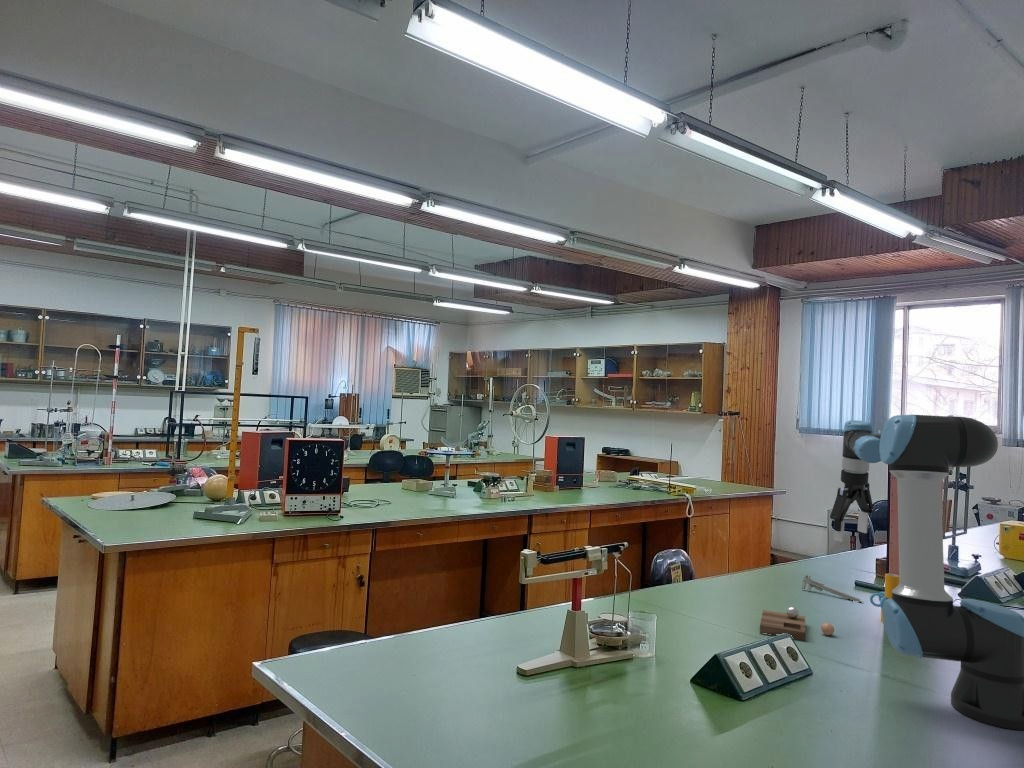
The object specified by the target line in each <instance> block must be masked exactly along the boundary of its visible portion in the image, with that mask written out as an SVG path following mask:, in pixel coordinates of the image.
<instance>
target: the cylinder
mask: <svg viewBox="0 0 1024 768" xmlns="http://www.w3.org/2000/svg"><path fill="white" fill-rule="evenodd" d="M898 585H899V574H895V573H889V572H888V573H885V574H884V591H880V592H879V593H877V592H874V593H871V595H870V596H869V601H870V603H871V605H873V607H877V608H880V622H881V623H883V624H884V622H883V614H882V608H883V602H884V601H885V600H887V599H892V590H893V589H894V588H896V587H897V586H898ZM876 596H877V597H878V601H879V603H875V602H874V599H873V598H874V597H876Z"/></svg>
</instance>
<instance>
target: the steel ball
mask: <svg viewBox="0 0 1024 768" xmlns="http://www.w3.org/2000/svg"><path fill="white" fill-rule="evenodd" d="M785 612H786V614H787V615H788V616H789V617H790V618H797V617H798V615H799V616H800V614H799V612H800V611H799V609H798V608H797V607H795V606H793V605H791V606H788V607H787V608H786V609H785Z"/></svg>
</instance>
